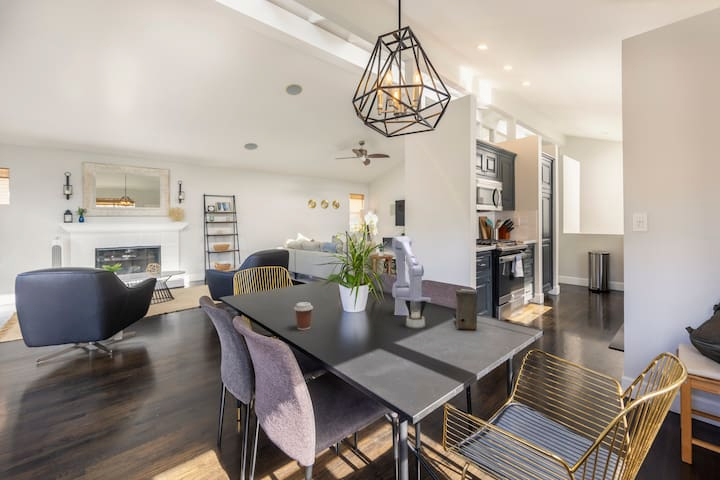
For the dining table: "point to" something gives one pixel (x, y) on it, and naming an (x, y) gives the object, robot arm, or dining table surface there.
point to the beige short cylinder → (415, 314)
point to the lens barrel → (415, 323)
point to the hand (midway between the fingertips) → (415, 315)
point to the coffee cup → (303, 315)
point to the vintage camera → (466, 309)
